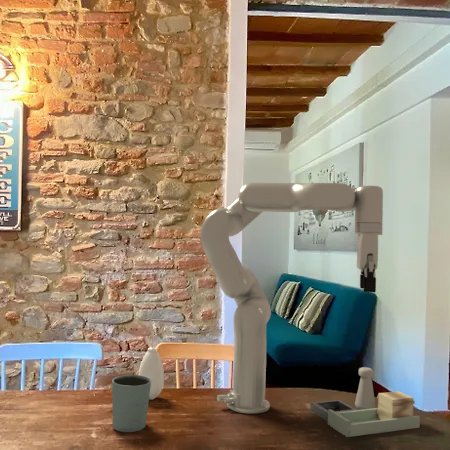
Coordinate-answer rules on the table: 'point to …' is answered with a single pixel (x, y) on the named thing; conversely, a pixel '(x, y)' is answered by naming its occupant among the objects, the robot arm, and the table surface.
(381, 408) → the crate
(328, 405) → the grey square frame
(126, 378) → the green cup
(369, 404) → the salt shaker
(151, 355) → the white vase
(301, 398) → the table surface
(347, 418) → the bay
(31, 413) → the table surface
